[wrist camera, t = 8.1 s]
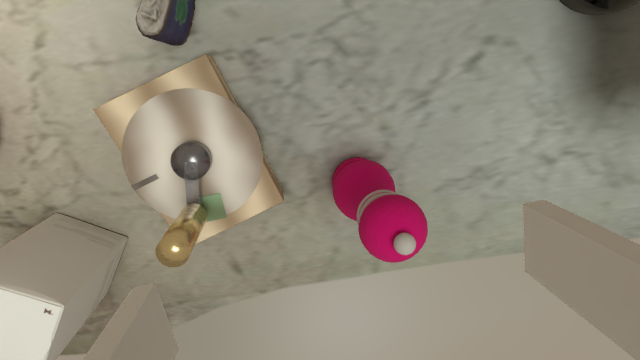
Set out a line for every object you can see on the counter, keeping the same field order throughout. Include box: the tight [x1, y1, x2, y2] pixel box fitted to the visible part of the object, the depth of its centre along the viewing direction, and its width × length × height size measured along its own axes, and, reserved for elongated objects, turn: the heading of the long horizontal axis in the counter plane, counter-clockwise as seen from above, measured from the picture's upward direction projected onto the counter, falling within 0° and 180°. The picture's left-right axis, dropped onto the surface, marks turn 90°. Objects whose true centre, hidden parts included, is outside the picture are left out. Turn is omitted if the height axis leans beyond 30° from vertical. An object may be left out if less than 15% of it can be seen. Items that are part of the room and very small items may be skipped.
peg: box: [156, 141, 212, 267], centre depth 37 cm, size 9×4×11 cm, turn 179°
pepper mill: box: [332, 157, 428, 262], centre depth 39 cm, size 7×7×20 cm
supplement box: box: [0, 213, 128, 360], centre depth 40 cm, size 9×9×15 cm
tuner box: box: [93, 54, 284, 244], centre depth 43 cm, size 15×18×4 cm
